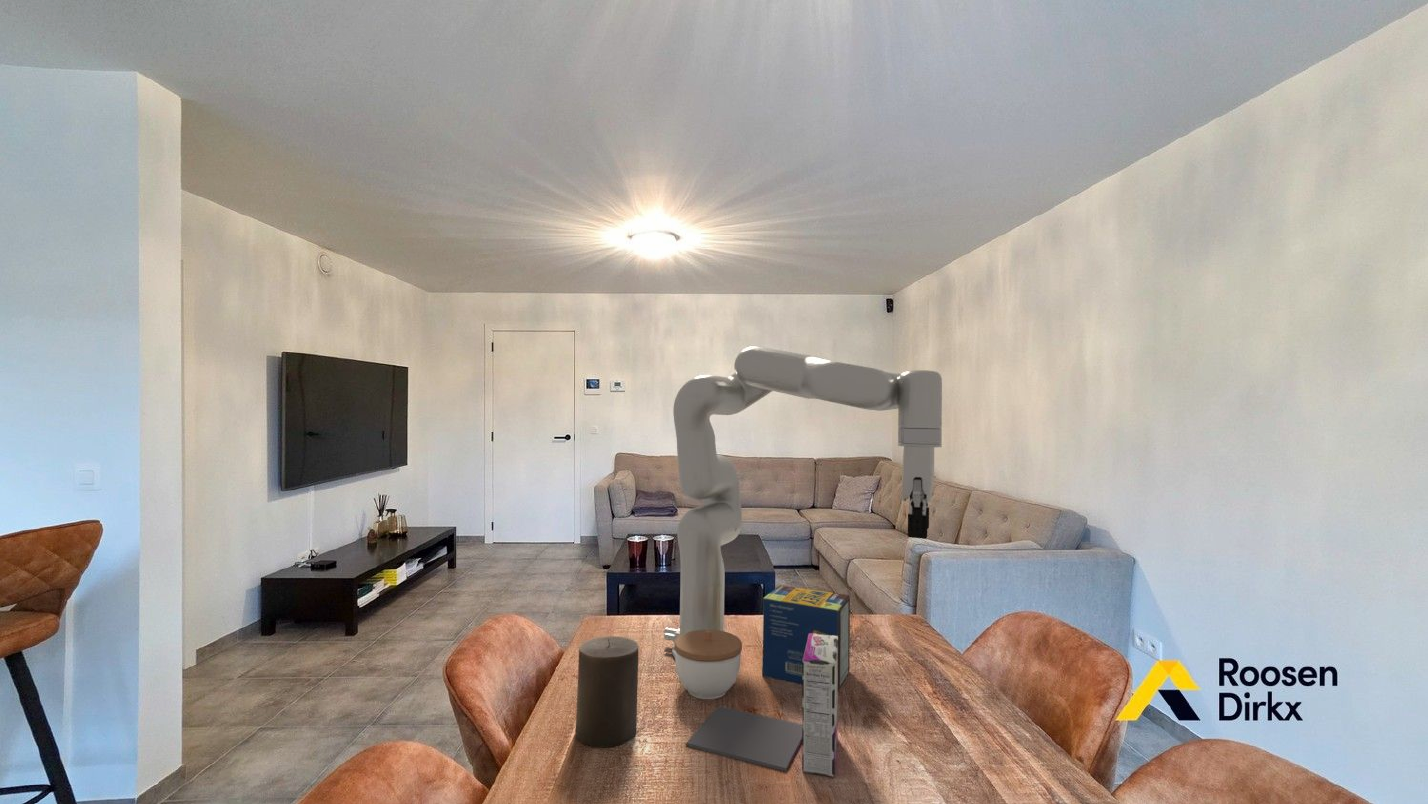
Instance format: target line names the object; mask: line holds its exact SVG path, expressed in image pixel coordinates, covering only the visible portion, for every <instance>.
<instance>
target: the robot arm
mask: <svg viewBox="0 0 1428 804" xmlns="http://www.w3.org/2000/svg"><path fill="white" fill-rule="evenodd" d="M733 366H734V371H735V372H734V373H733V374H731V375H729V376H728V377H726V376H721V375H713V374H704V375H699V376H698V375H697V376H694V377H693V378H691V379H689V380H688V381H686V382H685V383H684V384H683V385H682V386H681V388H680V389H679V390H678V392H677V394H676V396H675V398H674V402H673V407H672V408H673V411H672V412H673V423H674V429H675V436H676V452H677V465H678V476H679V485H680V489H681V492H682V493H683V495H684V496H685V497H687V499H691V500H693V501H701V500H702V502H703V504H702V505H700V506H696V507H694V508H691V509H689V510H688V511H686V512H685V513H684V514H683V515H682V516H681V518H680V520H679V521H678V525H677V531H676V532H677V533H676V534H677V537H676V538H677V543H678V549H679V558H680V578H679V579H680V581H679V582H680V588H679V589H680V597H679V627H678V629H677V628H673V627H668V626H667V627H665V628H664V632H663V635H664V636H663V639H664V640H665V641H673V642H674V643H675V640H676V639H677V637H679V636H680V635H682V634H684V633H687V632H691V631H696V630H718V631H724V630H725V629H724V628H725V623H724V622H725V576H726V575H725V563H724V558H723V555H722V549H721V547H722V546H724V545H726V544H728V543H731V542H732V541H734V540H735V539H736V538H737V537H738V536H739V535H740V532H741V530H742V526H743V513H742V501H741V489H740V482H739V480H740V479H739V474H738V471H737V469H736V466H735V464H734V463H733V462H732V461H731V460H730V458H728V457H726V456H724V455H721V454H717V448H716V447H717V445H716V435H715V431H714V428H713V425H712V423H711V421H710V420H711V419H710V418H711V416H713V415H715V416H716V415H718V416H732V415H735V414H739V413H741V412H743V411H744V410H746V409H747V408H749V407H751V406H752V405H754V404H755V403H757V402H758V401H760V400H761V399H763V398H765V397H766V396H768V395H769V394H770V393H772V392H777V393H781V394H784V395H791V396H794V397H799V398H804V399H807V400H809V399H810V400H811V399H812V400H813V399H814V400H820V401H821V400H822V401H826V402H830V403H835V404H839V405H844V406H849V407H852V408H858V409H861V410H868V411H891V410H898V411H897V413H898V414H897V416H898V417H897V418H898V419H897V420H898V421H897V422H898V423H897V425H898V426H897V427H898V428H897V446H898V447H903V450H902V451H903V453H902V470H901V471H902V474H901V476H902V478H901V479H902V480H901V481H902V482H901V501H903V502H904V503H905V502H906V501H907V500H909V502H908V503H909V505H908V506H909V508H908V512H909V513H907V537H908V538H914V539H923V540H926V539H927V538H928V530H929V528H930V507H929V503H930V502H931V500H932V495H933V489H934V475H935V448H942V440H943V439H942V436H943V435H942V434H943V433H942V431H943V430H942V427H943V425H942V423H943V422H942V421H943V419H942V418H943V417H942V415H943V413H942V412H943V380H942V379H943V378H942V375H941V374H940V372H937V371H935V370H922V369H921V370H919V369H918V370H907V371H904V372H902V373H893V372H888V371H884V370H881V369H878V368H874V367H868V366H863V365H855V364H851V363H845V362H841V361H840V362H839V361H834V360H830V359H829V360H828V359H823V358H821V357H818V356H814V355H810V354H803V353H798V352H797V353H796V352H792V351H787V350H786V351H785V350H782V349H781V350H780V349H774V348H768V347H764V346H763V347H762V346H748V347H746V348H743V350H741V351H740V352H739V353H738V354H737V356H736V358H735V360H734V365H733ZM724 632H725V631H724ZM671 654H672V656H673V657H674V659H675V644H673V646H672V648H671Z"/></svg>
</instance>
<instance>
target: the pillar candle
mask: <svg viewBox="0 0 1428 804" xmlns="http://www.w3.org/2000/svg"><path fill="white" fill-rule="evenodd" d="M639 650H640V649H639V643H638V642H637V641H635V640H634V639H633V638H629V637H625V636H624V637H622V636H613V635H611V636H600V637H595V638H589V639H587V640H586V641H584V642H582V643H581V644H580V645H579V647H578V666H577V667H578V670H577V671H578V673H577V694H576V696H577V697H576V717H575V719H576V720H575V735H576V737H577V739H578V740H579V741H580V743H582V744H584V745H586V746H588V747H594V748H613V747H614V748H615V747H619V746H620V745H623V744H625V743H627V742H629V741H630V740H632V739H633V737H635V735H636V733H637V722H638V721H637V719H638V689H639V688H638V687H639V685H638V683H639Z"/></svg>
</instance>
